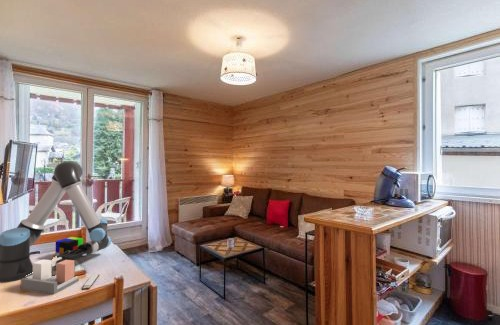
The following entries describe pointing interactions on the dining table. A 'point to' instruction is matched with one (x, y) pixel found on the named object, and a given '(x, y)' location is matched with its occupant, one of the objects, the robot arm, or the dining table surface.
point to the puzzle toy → (67, 244)
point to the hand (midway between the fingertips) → (48, 264)
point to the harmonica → (90, 282)
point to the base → (46, 285)
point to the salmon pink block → (65, 271)
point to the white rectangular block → (42, 269)
